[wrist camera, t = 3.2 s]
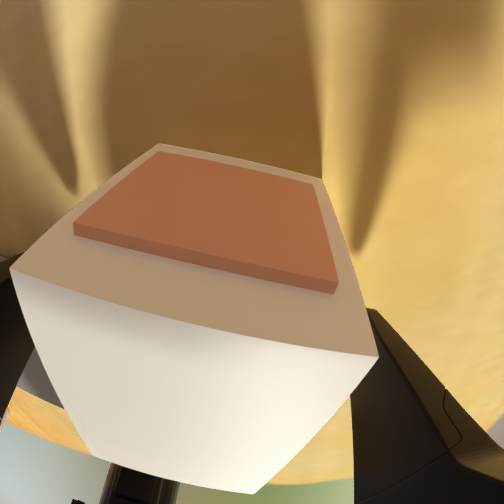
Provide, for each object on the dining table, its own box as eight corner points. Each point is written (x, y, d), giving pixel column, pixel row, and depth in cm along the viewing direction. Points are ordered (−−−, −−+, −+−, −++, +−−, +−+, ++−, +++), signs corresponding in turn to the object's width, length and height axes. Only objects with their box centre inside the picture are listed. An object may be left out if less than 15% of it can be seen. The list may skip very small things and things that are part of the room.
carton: (265, 340, 12) (253, 494, 7) (149, 314, 12) (92, 455, 6) (324, 171, 8) (387, 345, 3) (160, 135, 8) (5, 254, 3)
